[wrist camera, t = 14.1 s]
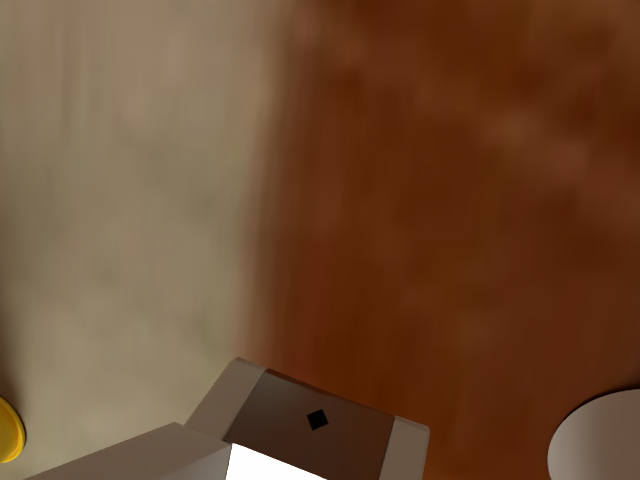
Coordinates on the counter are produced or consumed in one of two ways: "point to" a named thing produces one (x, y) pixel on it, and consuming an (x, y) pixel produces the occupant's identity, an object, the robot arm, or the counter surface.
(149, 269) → the counter surface
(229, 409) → the robot arm
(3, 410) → the stacking cups
